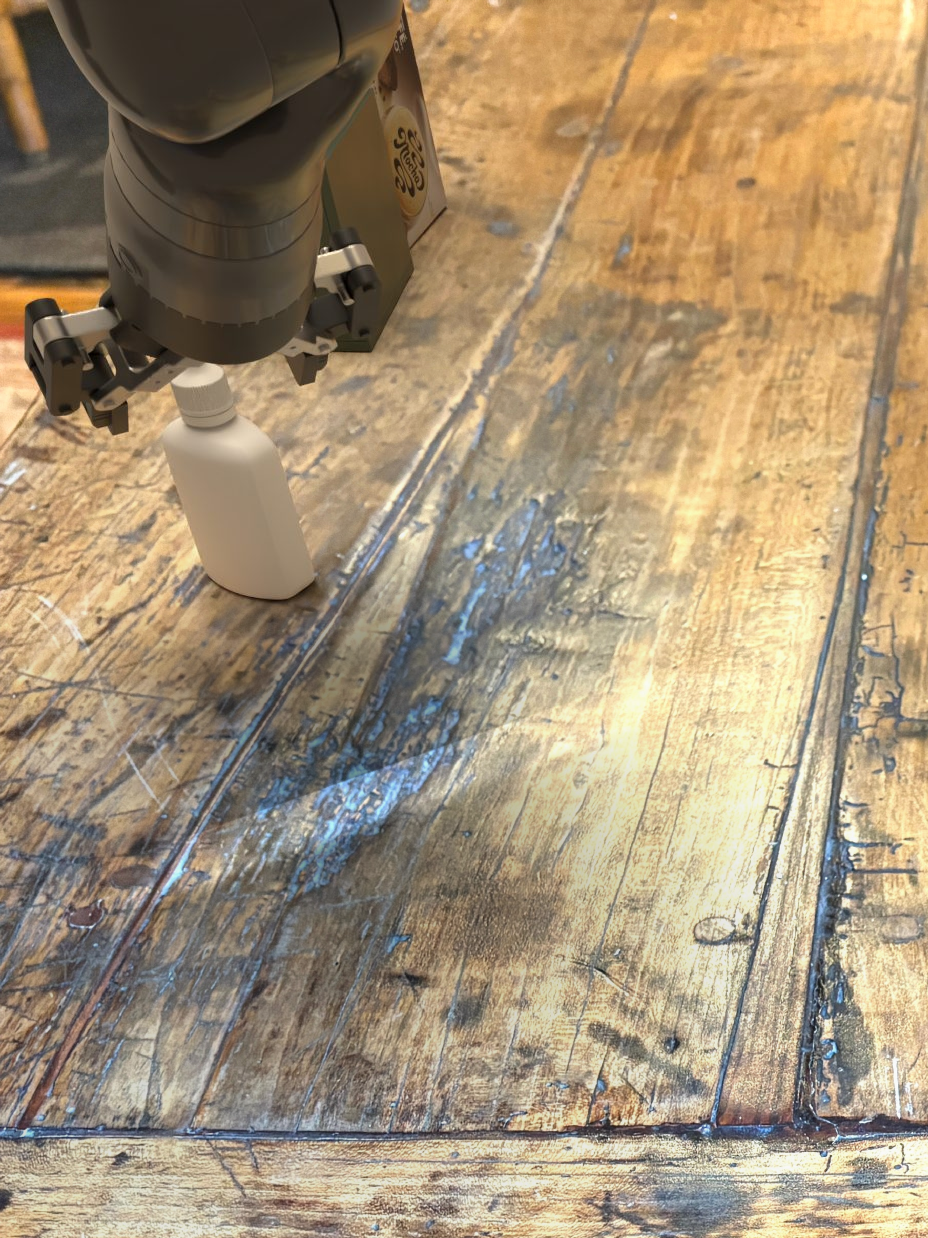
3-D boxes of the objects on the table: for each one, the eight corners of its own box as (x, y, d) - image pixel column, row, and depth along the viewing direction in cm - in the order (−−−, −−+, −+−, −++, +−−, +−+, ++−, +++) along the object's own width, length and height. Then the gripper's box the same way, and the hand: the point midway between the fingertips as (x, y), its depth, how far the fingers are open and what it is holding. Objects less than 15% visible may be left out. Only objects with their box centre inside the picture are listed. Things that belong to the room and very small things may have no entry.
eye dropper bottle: (284, 541, 101) (214, 310, 92) (325, 591, 97) (257, 357, 89) (198, 566, 99) (118, 333, 90) (237, 618, 96) (158, 382, 87)
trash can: (176, 348, 115) (115, 159, 107) (231, 265, 122) (178, 83, 115) (371, 352, 115) (324, 163, 107) (414, 268, 123) (373, 87, 115)
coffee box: (356, 198, 130) (289, -78, 118) (450, 206, 129) (393, -70, 118) (298, 257, 123) (222, -28, 112) (397, 265, 123) (331, -20, 111)
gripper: (350, 92, 78) (320, 274, 93) (-27, 169, 72) (4, 350, 87) (433, 274, 79) (390, 425, 94) (67, 364, 73) (82, 511, 88)
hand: (204, 389), depth 90 cm, fingers open, 8 cm apart
